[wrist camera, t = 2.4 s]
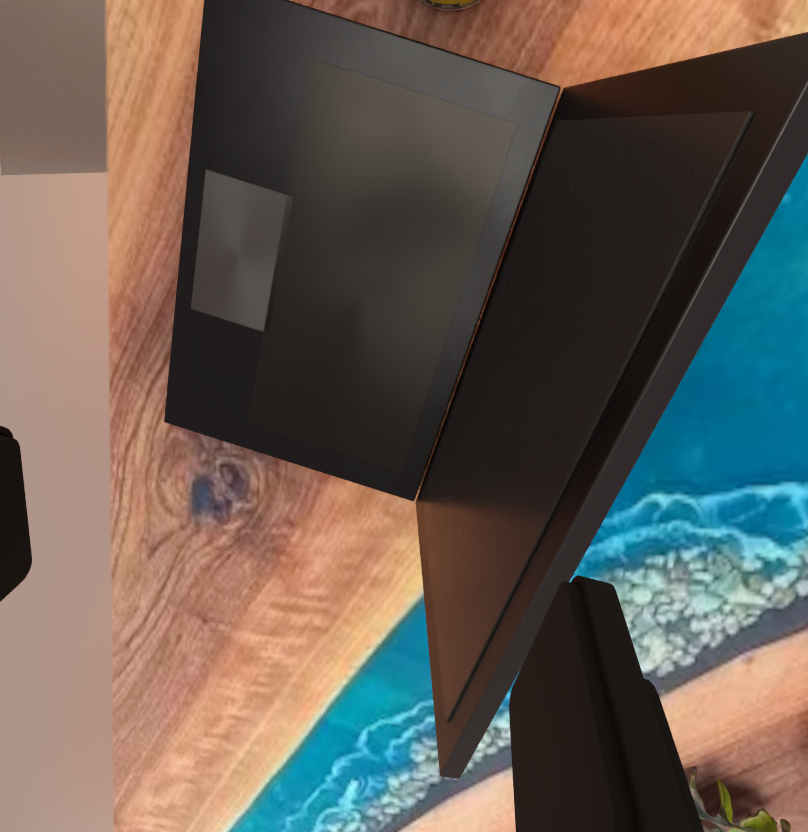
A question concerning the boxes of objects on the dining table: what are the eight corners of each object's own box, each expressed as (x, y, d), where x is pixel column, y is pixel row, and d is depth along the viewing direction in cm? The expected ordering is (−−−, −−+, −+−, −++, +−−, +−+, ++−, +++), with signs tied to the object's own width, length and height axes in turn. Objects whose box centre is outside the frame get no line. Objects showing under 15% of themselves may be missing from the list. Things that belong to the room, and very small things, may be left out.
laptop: (176, 412, 37) (162, 423, 35) (221, -16, 26) (204, -27, 25) (416, 488, 37) (413, 502, 35) (557, 90, 26) (561, 86, 25)
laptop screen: (437, 776, 20) (459, 779, 21) (832, 21, 10) (873, 38, 10) (413, 501, 35) (427, 504, 36) (561, 86, 25) (579, 92, 25)
